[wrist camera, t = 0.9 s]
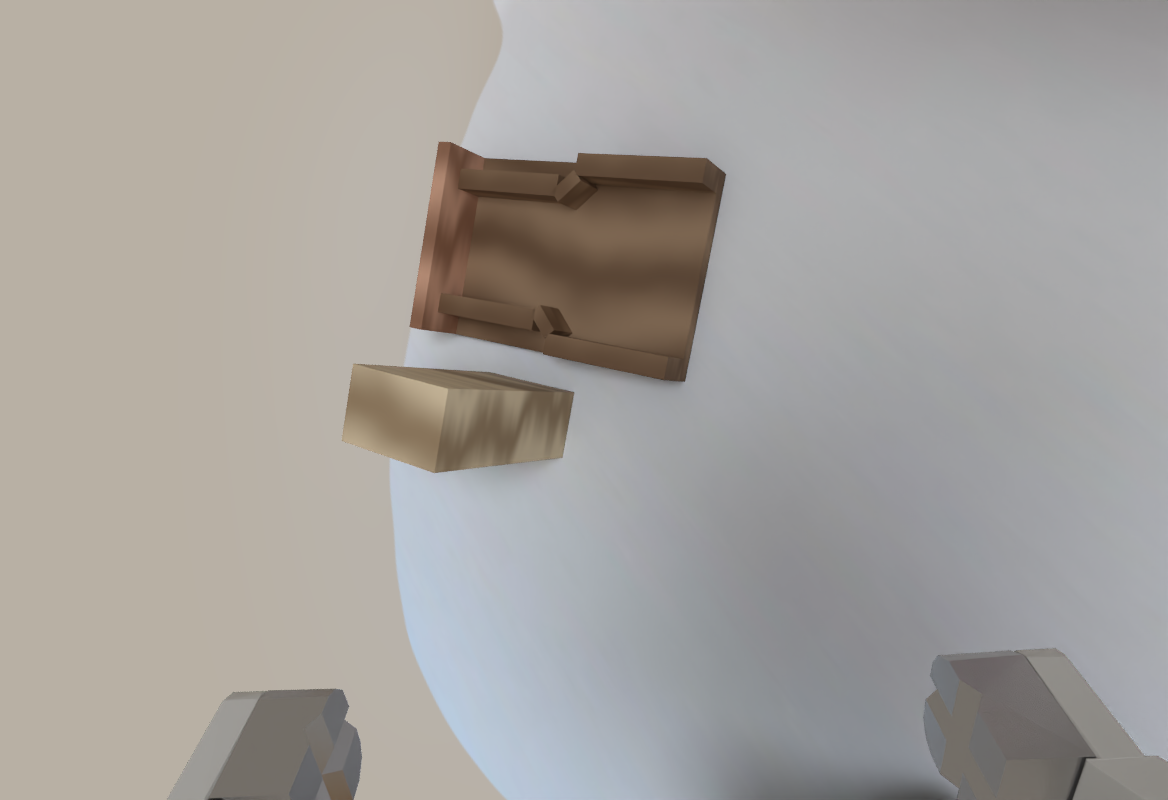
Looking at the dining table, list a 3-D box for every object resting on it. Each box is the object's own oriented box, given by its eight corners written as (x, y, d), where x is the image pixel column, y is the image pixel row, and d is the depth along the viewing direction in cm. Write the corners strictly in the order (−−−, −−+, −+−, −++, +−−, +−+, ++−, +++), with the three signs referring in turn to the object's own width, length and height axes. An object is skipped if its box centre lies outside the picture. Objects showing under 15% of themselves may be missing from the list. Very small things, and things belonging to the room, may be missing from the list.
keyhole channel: (480, 161, 58) (438, 141, 53) (725, 174, 47) (698, 150, 43) (452, 332, 59) (409, 327, 55) (684, 381, 49) (653, 379, 44)
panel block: (490, 372, 57) (353, 363, 45) (574, 392, 53) (448, 388, 41) (480, 433, 58) (341, 440, 45) (562, 457, 54) (434, 472, 41)
